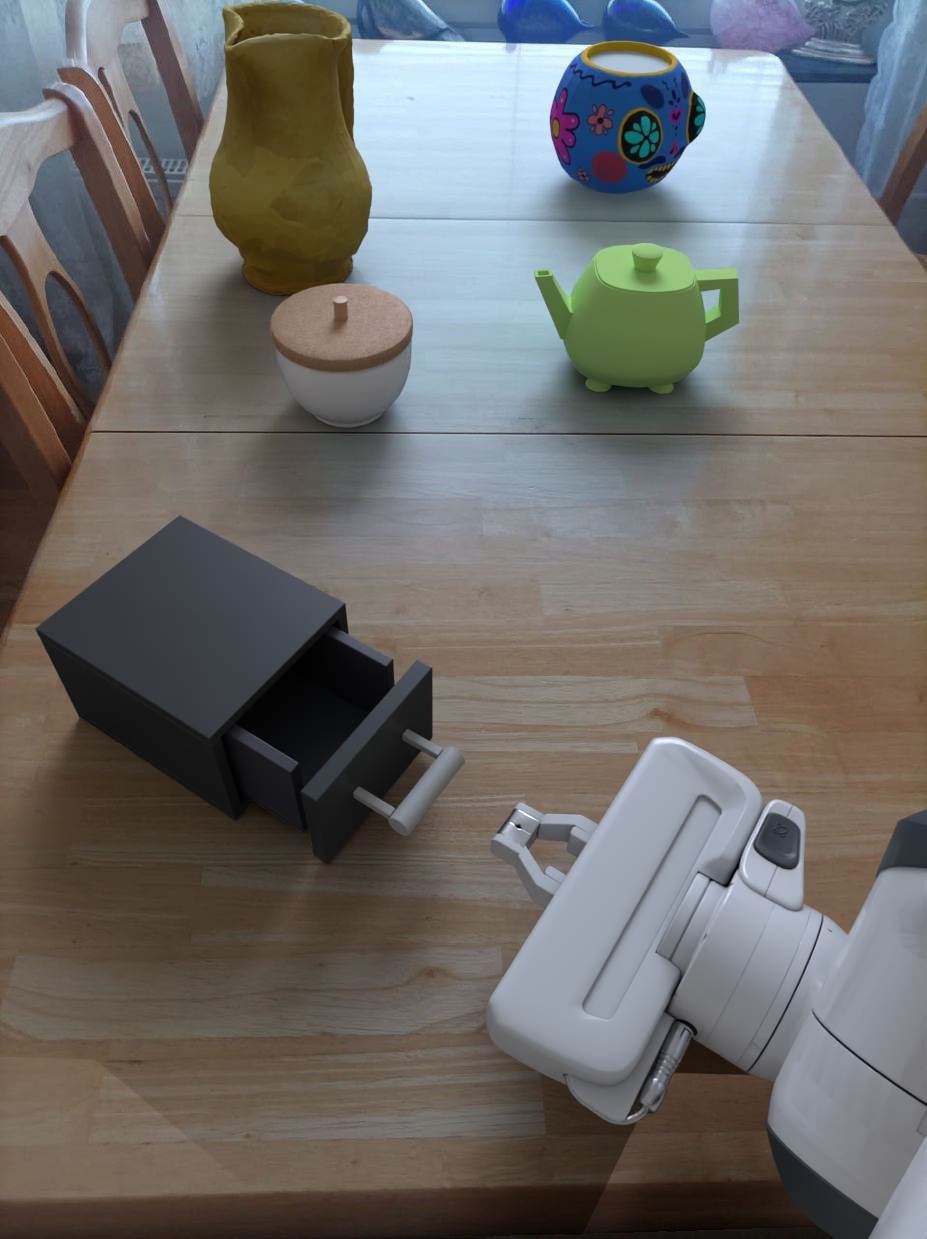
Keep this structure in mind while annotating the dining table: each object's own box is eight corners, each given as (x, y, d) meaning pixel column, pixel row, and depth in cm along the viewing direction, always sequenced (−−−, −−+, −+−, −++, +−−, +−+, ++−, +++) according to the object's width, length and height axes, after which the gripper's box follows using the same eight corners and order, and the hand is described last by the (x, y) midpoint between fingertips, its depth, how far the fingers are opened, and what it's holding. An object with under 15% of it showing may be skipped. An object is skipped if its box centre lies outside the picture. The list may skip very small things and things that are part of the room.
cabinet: (355, 691, 67) (345, 602, 60) (235, 821, 60) (209, 739, 53) (205, 606, 72) (179, 514, 65) (78, 717, 65) (34, 628, 58)
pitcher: (191, 250, 107) (156, -2, 88) (336, 219, 115) (332, -19, 96) (256, 324, 98) (233, 62, 79) (408, 286, 106) (420, 38, 87)
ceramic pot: (616, 230, 114) (636, 98, 102) (516, 178, 122) (524, 50, 111) (708, 190, 121) (736, 62, 110) (608, 144, 130) (625, 21, 118)
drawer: (485, 767, 62) (491, 698, 57) (384, 902, 56) (378, 841, 50) (281, 650, 69) (266, 577, 63) (168, 761, 62) (140, 691, 56)
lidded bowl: (434, 384, 92) (435, 280, 84) (379, 460, 84) (374, 354, 76) (320, 354, 95) (310, 251, 86) (257, 425, 87) (238, 319, 79)
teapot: (528, 404, 90) (539, 283, 81) (524, 327, 99) (534, 210, 90) (734, 410, 90) (770, 290, 81) (712, 333, 99) (742, 217, 90)
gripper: (631, 1161, 45) (399, 999, 50) (781, 842, 57) (581, 735, 62) (654, 1129, 41) (395, 954, 45) (813, 788, 52) (593, 676, 57)
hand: (504, 826), depth 54 cm, fingers closed
